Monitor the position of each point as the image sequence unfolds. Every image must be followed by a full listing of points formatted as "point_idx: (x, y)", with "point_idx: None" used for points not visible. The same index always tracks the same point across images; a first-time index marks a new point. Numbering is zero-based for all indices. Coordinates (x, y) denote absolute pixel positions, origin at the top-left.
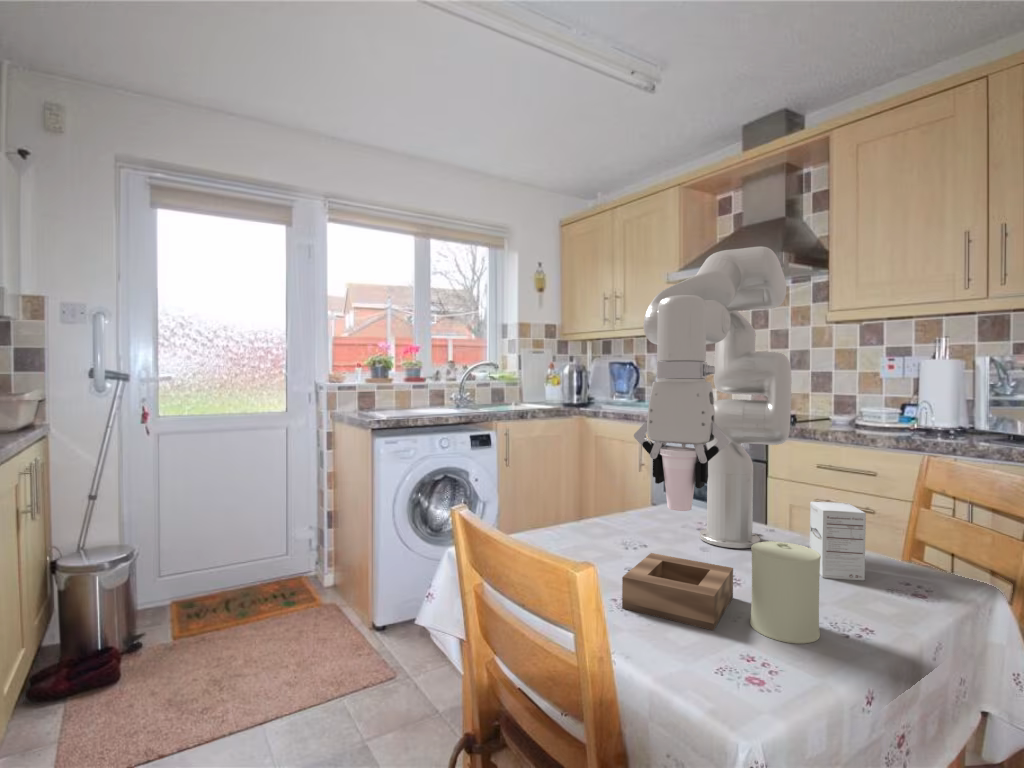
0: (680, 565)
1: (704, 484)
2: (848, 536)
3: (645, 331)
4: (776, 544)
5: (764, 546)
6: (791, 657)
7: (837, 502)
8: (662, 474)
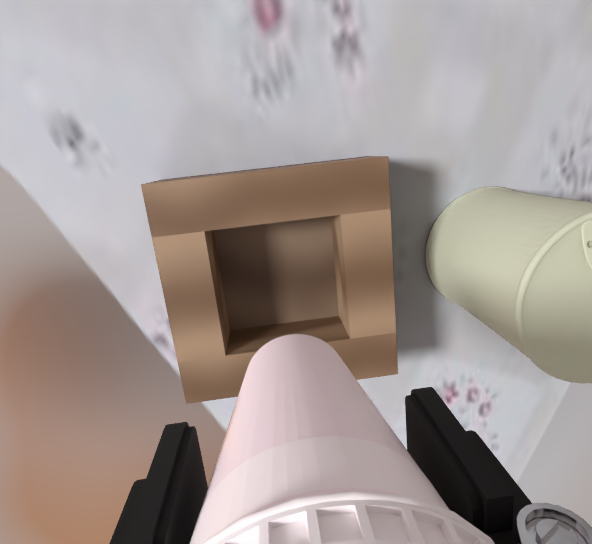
0: (257, 224)
1: (431, 388)
2: None
3: None
4: (582, 247)
5: (550, 290)
6: (504, 349)
7: None
8: (196, 502)
